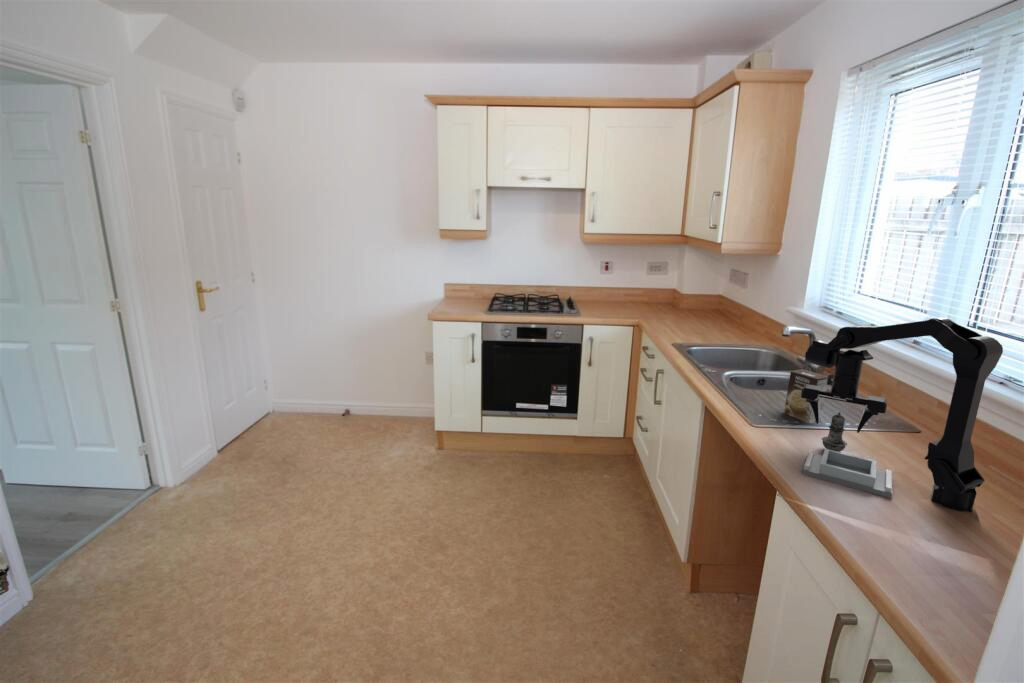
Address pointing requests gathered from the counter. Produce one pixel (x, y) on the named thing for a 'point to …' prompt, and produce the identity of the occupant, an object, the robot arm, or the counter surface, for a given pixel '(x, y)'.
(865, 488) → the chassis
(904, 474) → the counter surface
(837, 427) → the grey stone chess piece
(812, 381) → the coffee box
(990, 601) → the counter surface
